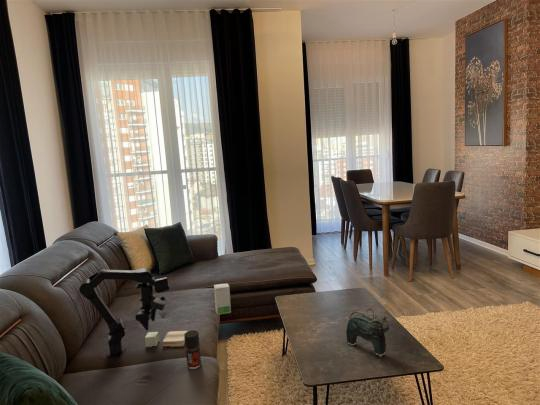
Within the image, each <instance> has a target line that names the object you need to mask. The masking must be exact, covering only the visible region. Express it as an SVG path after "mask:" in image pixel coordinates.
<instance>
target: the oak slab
mask: <svg viewBox="0 0 540 405" xmlns="http://www.w3.org/2000/svg"><path fill="white" fill-rule="evenodd" d="M188 331H189V330H175V331H173V330H172V331H168V332H166V335H165V337H164V339H163V341H162V347H163V346H165V348H166V346H170V347H184V346H185V337H184V334H185V333H186V332H188Z"/></svg>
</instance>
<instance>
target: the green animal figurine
mask: <svg viewBox="0 0 540 405" xmlns="http://www.w3.org/2000/svg"><path fill="white" fill-rule="evenodd" d="M368 311H371V312H372V314H373V316H372V318H371V317H370V316H367V315H365V314H363V313H362V312H359V311H357V312H356V311H355V312H354V311H353V312H352V313H351V314H350V316H349V320H347V324H346V330H345V334H346V341H347V343H348V342H349V343H351V344H354V343H356V344H357V339H358V337H360V338H362V339H363V340H366V341H369V342H371V345H372V346H373V348H374V353H375V352H376V353H378V354H383V353H384V352H385V351H386V350H387V349H386V347H387V344H386V335H385V333H387V332H388V331H389V330H390V322H389V321H388V320H387V317H386V316H383V317H378V315H377V314H375V312H374V311H373V309H372V308H368V309H367V310H366V312H368ZM354 314H355V315H354ZM353 315H354V316H353Z"/></svg>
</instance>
